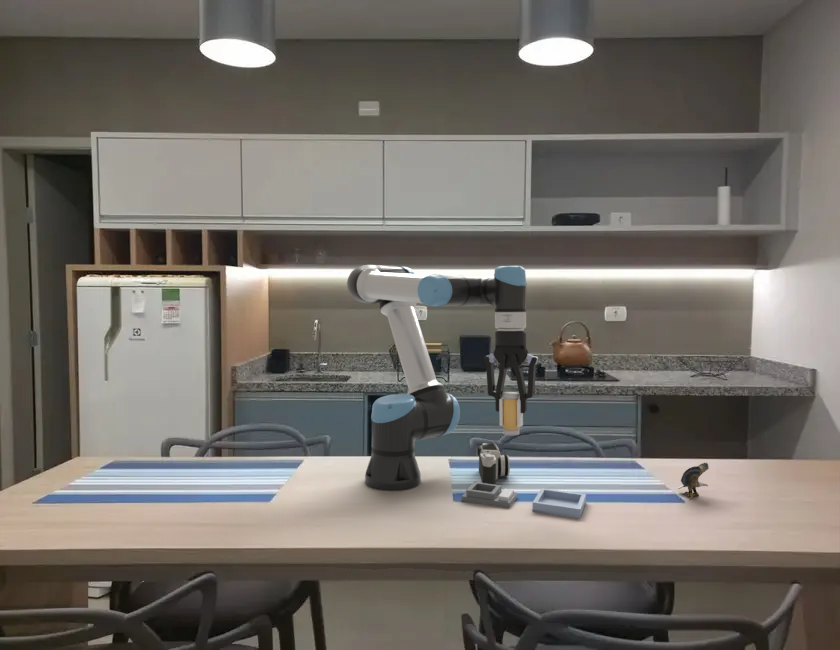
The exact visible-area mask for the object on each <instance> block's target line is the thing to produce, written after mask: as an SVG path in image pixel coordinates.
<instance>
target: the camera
mask: <svg viewBox="0 0 840 650" xmlns="http://www.w3.org/2000/svg"><path fill="white" fill-rule="evenodd" d="M477 455H478V472H479V475H480V476H479V477H480V479H481V483H487V484H494V485H497V483H496V481H497V480H499V477H502V476H503V477H509V475H510V471H511V470H510V469H511V467H510V465H511V463H510V456H509V455H508V454H502V455H501V452H500V449H499V447H498V445H497V444H496V443H495V442H494V441H493V442H490V443H487V442H486V443H482V445H477Z"/></svg>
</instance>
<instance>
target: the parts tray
mask: <svg viewBox="0 0 840 650" xmlns="http://www.w3.org/2000/svg"><path fill="white" fill-rule="evenodd" d="M586 503H587V494H586V493H580V492H572V491H565V490H557V489H550V488H543V487H542V488H540V490H539V491H538V493H537V494H536V496H535V498H534V500H533V501H532V512H534V513H540V514H548V515H554V516H561V517H568V518H569V517H570V518H575V519H581V518H582V516H583V512H584V509H585V507H586Z"/></svg>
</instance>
